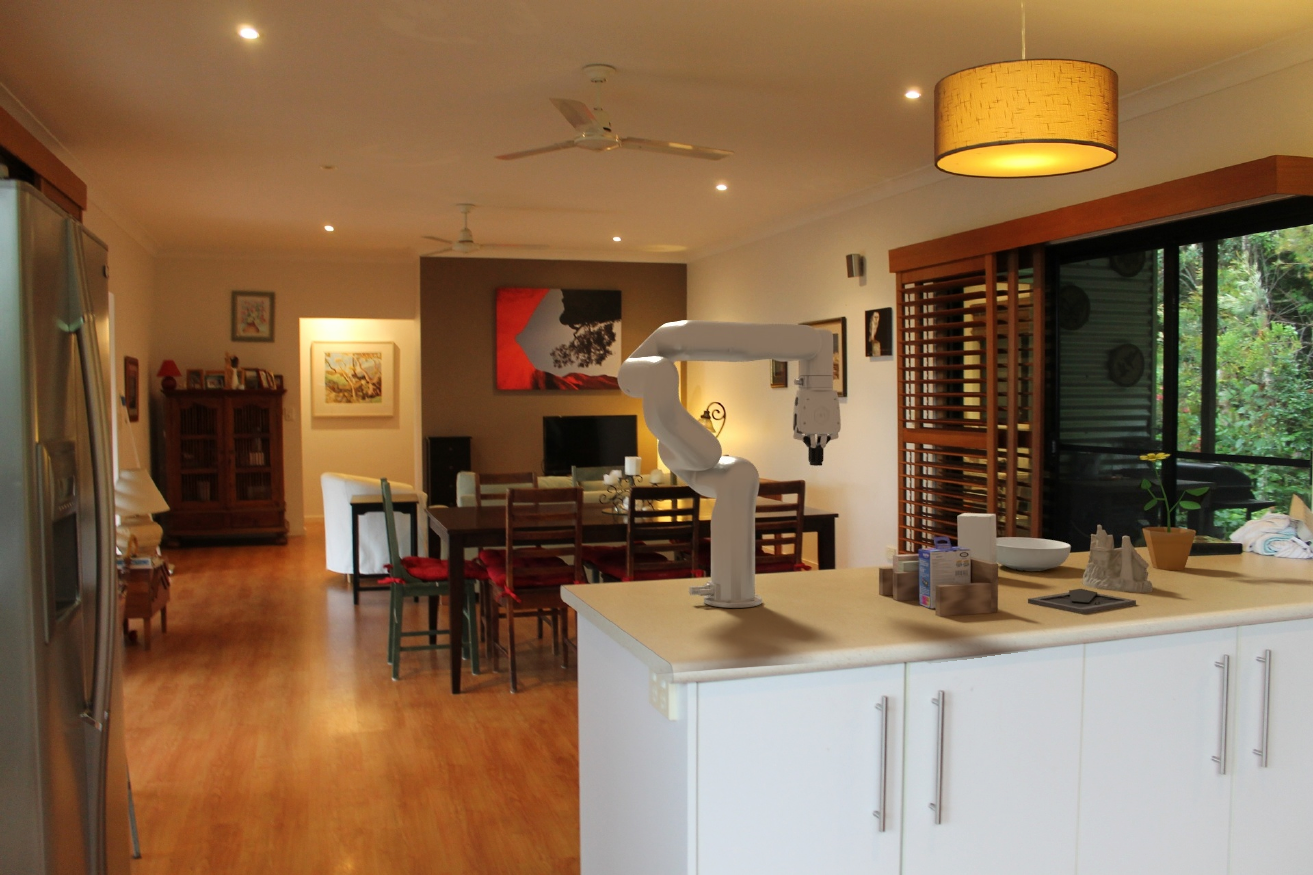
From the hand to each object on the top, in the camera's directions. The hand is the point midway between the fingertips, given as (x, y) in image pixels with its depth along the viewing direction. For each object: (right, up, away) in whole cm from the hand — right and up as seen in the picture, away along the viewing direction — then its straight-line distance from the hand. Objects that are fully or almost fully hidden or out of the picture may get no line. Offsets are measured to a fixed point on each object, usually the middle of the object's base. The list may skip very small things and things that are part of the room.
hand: (815, 465), depth 223 cm
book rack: (+24, -29, -10) cm, 39 cm away
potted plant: (+98, -28, +34) cm, 107 cm away
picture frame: (+55, -30, -12) cm, 64 cm away
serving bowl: (+61, -28, +35) cm, 76 cm away
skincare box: (+44, -29, +22) cm, 57 cm away
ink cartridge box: (+25, -30, -13) cm, 41 cm away
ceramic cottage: (+73, -29, +10) cm, 79 cm away
